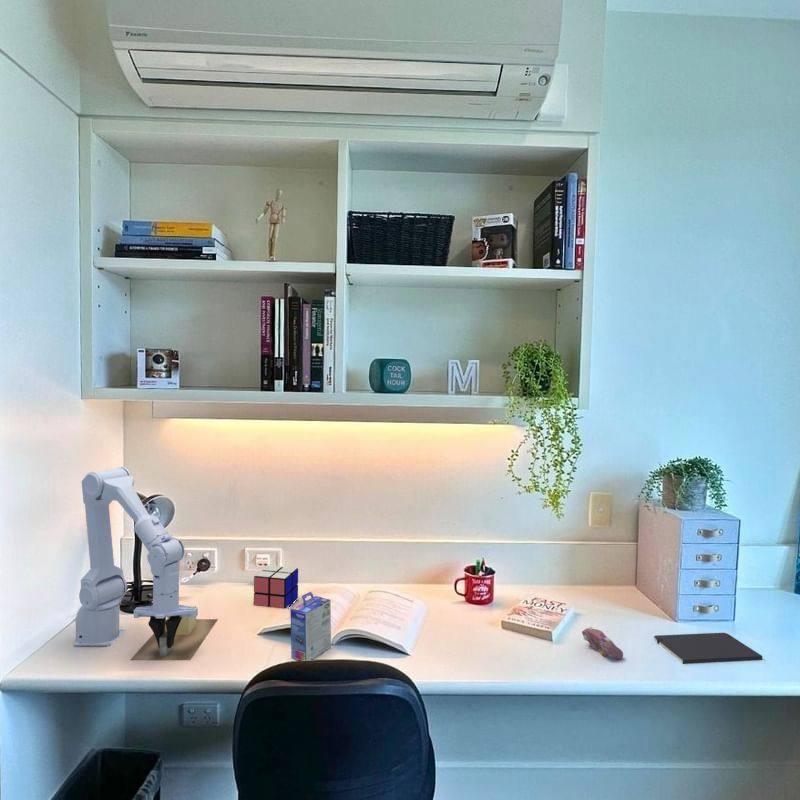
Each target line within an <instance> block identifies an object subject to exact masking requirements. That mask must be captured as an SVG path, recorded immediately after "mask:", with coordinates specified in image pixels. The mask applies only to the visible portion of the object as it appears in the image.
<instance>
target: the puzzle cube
mask: <svg viewBox="0 0 800 800" xmlns="http://www.w3.org/2000/svg"><path fill="white" fill-rule="evenodd" d="M298 584H299V568H298V567H292V566H291V567H290V566H281V565H279V566H278V565H267V566H266V567H265V568H264V569H262V570H261V571H260V572H258V573H257V574H255V575H254V576H253V592H254V593H253V606H254V607H263V608H273V609H283V610H284V609H288V608H289V607H290V606H291V604H292V603H293V602H294V601H295V600H296V599H297V598H298V599H299V585H298ZM291 607H292V606H291ZM291 607H290V608H291Z"/></svg>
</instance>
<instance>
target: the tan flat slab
mask: <svg viewBox="0 0 800 800" xmlns="http://www.w3.org/2000/svg"><path fill="white" fill-rule="evenodd" d="M218 620H219V619H218V618H213V619H211V618H206V619H205V618H200V619H199V618H196V626H195V627H194V629H193V630H192V631H191V633H190V634H189V635H175V638H174V644H173V646H172V647H171V648H168V647H167V628H166V624H165V633H164V634H163V635H162V636H161V637H160V648H158V643H157V640H156V637H155V635H154V633H153V634H152V635H151V636H150V637H149V638H148V639H147V640H146V641H145V643H144V644H143V645H142V646H141V647H140V648H139V649H138V650H137V651H136V652H135V654H134V655H133V656H132V657H131V659H130V661H191V660H192V658H193V657H194V656H195V654H196V652H197V651H198V650H199V648H200V647H201V645H202V644H203V642H204V641H205V640H206V637H208V635H209V633H210V632H211V630H212V629H213V627H215V625H216V623H217V622H218ZM166 621H167V618H166Z"/></svg>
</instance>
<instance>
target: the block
mask: <svg viewBox="0 0 800 800" xmlns="http://www.w3.org/2000/svg"><path fill="white" fill-rule="evenodd" d="M183 605H184V606H190V607H197V605H196V604H183ZM169 618H170V617H166V619H167V620H168V619H169ZM196 619H197V617H196V618H191V617H182V619H181V621H180V624H179V626H178V628H177V631H176V634H175V635H189V634H190V633H191V631H192V630H193V629H194V627H195V626H196Z"/></svg>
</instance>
